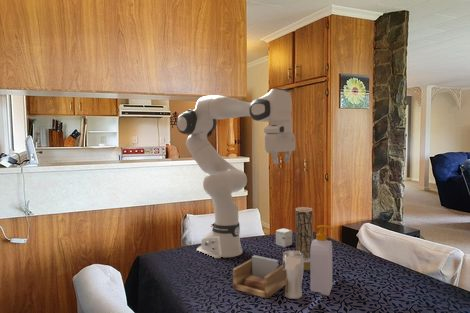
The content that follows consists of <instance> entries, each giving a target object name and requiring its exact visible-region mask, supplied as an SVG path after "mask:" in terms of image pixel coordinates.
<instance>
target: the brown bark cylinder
mask: <svg viewBox="0 0 470 313" xmlns="http://www.w3.org/2000/svg"><path fill="white" fill-rule="evenodd" d="M313 214H314V210H313V208H312V207H310V206H309V207H307V206H299V207H296V208H295V251H299V252H301V253H303V262H304V271H310V249H311V243H312V240H314V226H313V225H314V223H313V222H314V220H313V218H314V215H313Z"/></svg>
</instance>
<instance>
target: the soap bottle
mask: <svg viewBox="0 0 470 313" xmlns="http://www.w3.org/2000/svg"><path fill="white" fill-rule="evenodd" d="M324 228H326V229H330V230H333V227H331V225H327V224H326V225H324V224H320V225H317V226H316V229H319V232H317V233H316V234H315V237H316V239H314V238H313V240H312V243H311V249H310V270H309V272H310V274H309V275H310V280H309V281H310V283H309V284H310V292H315V293H319V295H322V296H330V294H331V290H332V288H333V243H332V241H331V240H328V238H327V233H326V232H324Z"/></svg>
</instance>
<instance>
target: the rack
mask: <svg viewBox="0 0 470 313" xmlns="http://www.w3.org/2000/svg"><path fill="white" fill-rule="evenodd" d="M250 275H252V258H250V259H248V260H247V261H246V260H245V261H244V262H243V263H241V264H239V265H238V266H236V267H234V268H232V289H233V290H235V291H239V292H244V293H247V294H250V295H254V296H257V297H261V298H264V299H269V298H271V297H272V296H273V295H274V294H275V293H277V292H278V291H279V290H281V289H282V288H283V287H285V280H284V274H283V264H281V265H279V266H278V268H277V269H275V270H274V271H272V272H271V273H269V274H268V275H266V276H265V277H264V291H262V290H258V289H254V288H251V287H247V286H244V282H245V279H246V278H248V277H249V276H250Z"/></svg>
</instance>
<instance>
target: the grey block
mask: <svg viewBox="0 0 470 313" xmlns="http://www.w3.org/2000/svg"><path fill="white" fill-rule="evenodd" d="M251 259H252V276H257V277H262V278H264V277H265V276H266V275H268V274H269V273H271V272H272V271H274V270H275V269H277V268H278V267H279V259H275V258H274V259H273V258H270V257H265V256H260V255H255V254H254V255H252V256H251Z"/></svg>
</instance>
